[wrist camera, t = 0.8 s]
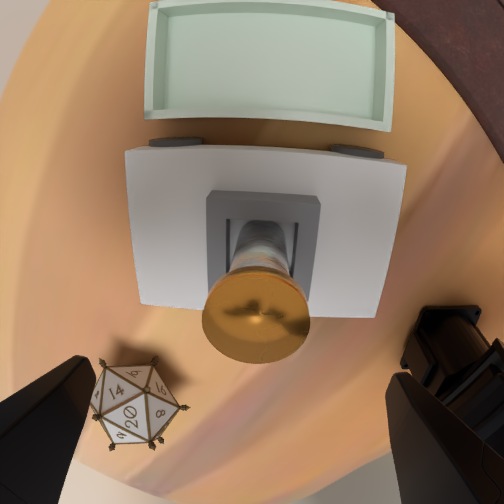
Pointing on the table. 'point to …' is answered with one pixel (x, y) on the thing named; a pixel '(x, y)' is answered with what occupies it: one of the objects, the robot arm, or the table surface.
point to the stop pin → (257, 300)
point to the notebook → (462, 51)
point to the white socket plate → (263, 218)
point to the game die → (133, 404)
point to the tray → (270, 61)
